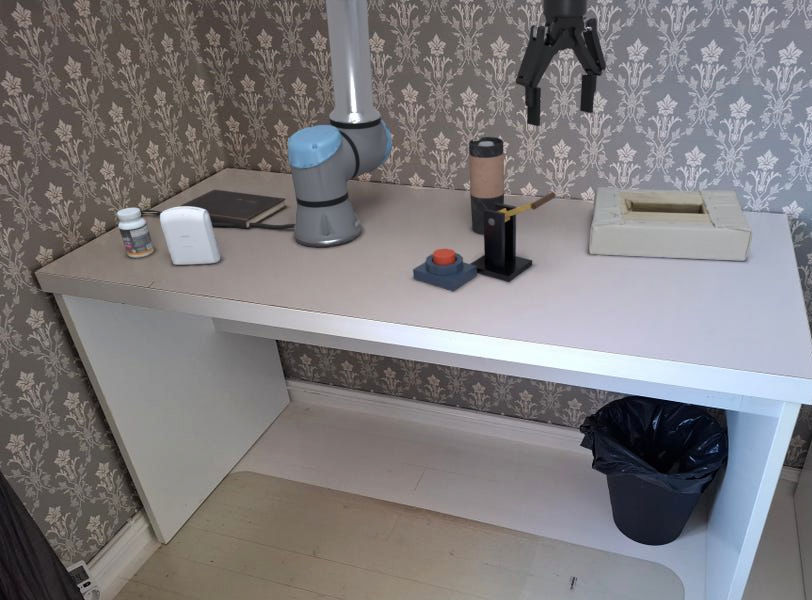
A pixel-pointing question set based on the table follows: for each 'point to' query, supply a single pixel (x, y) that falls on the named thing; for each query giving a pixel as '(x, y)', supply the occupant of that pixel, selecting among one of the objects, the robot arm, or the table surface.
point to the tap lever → (528, 206)
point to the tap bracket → (500, 246)
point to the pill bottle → (134, 233)
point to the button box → (445, 273)
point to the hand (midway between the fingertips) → (560, 118)
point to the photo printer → (189, 235)
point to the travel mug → (485, 178)
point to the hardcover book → (237, 207)
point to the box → (669, 224)
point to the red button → (444, 256)
